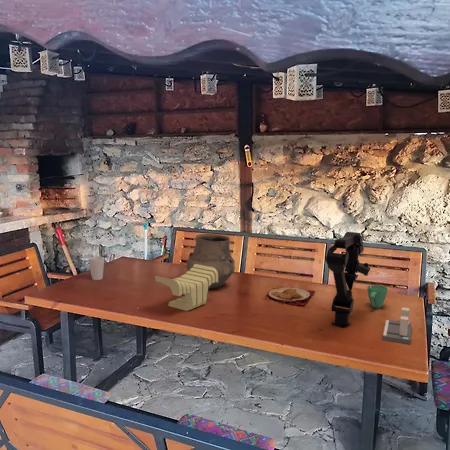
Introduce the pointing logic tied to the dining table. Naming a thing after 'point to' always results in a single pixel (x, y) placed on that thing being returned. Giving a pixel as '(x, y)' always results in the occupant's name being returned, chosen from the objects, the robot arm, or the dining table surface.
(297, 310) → the dining table surface
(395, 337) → the switch block
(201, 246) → the ceramic pot
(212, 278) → the slatted curved stool
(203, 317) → the dining table surface
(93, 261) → the foam cup
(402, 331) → the block
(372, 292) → the mug
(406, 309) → the switch tab
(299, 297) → the plate with food
